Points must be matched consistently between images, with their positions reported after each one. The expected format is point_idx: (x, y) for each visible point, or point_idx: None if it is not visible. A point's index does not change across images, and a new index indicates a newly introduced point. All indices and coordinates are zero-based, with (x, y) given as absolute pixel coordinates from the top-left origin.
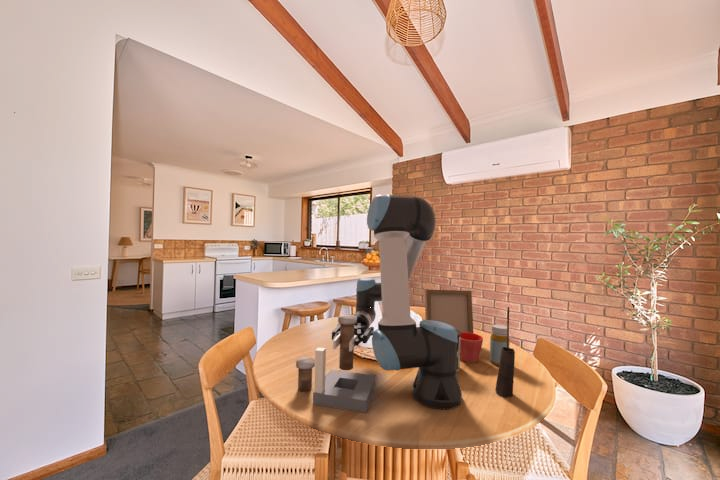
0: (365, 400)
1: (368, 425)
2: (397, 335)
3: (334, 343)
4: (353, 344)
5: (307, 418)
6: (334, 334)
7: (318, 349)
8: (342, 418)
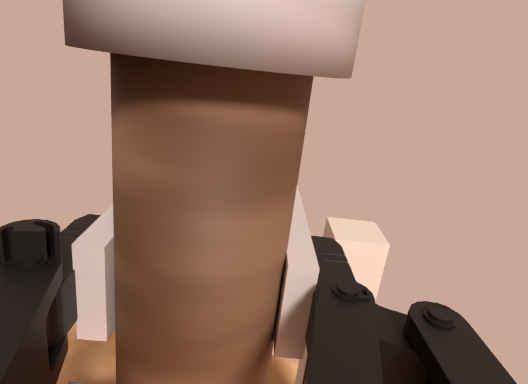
0: (71, 382)
1: (80, 359)
2: None
3: None
4: None
5: (297, 365)
6: (393, 312)
7: (366, 227)
8: None
